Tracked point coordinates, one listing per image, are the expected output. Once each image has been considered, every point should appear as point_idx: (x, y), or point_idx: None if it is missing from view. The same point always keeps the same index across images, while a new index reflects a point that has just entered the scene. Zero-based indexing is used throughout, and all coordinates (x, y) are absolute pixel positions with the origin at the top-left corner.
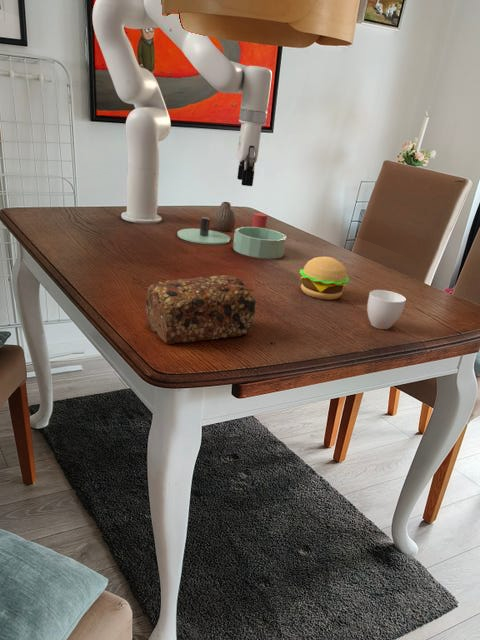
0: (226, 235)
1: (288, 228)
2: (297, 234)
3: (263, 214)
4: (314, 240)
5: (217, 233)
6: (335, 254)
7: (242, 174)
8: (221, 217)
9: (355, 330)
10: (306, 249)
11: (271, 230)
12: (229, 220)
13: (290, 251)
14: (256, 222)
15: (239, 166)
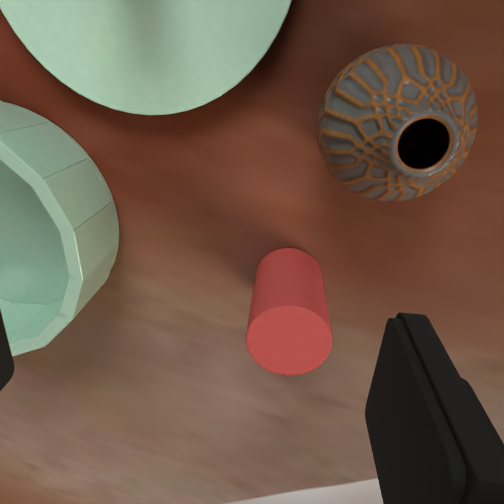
0: (187, 101)
1: None
2: None
3: (294, 358)
4: (304, 477)
5: (215, 49)
6: (132, 477)
7: (394, 405)
8: (333, 91)
9: None
10: (158, 413)
11: (52, 320)
12: (319, 148)
13: (102, 351)
14: (257, 296)
15: (449, 460)
